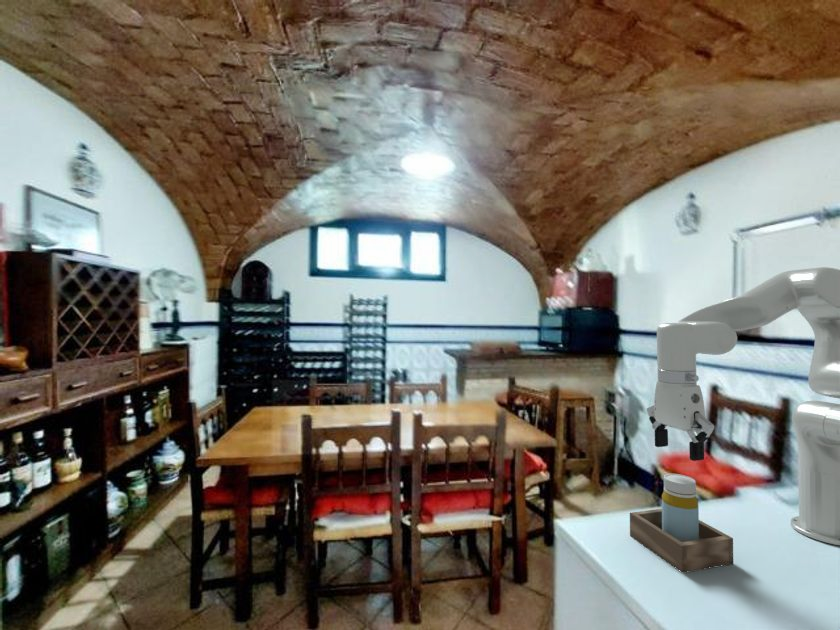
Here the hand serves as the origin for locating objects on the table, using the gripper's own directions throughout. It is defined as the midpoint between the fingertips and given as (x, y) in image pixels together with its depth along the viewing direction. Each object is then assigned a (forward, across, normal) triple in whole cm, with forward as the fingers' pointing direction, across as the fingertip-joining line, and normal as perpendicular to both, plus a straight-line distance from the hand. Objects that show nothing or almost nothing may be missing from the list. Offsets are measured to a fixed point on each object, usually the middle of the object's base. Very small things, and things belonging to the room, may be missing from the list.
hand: (678, 452), depth 94 cm
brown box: (+22, 0, 0) cm, 22 cm away
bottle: (+21, 0, 0) cm, 21 cm away
